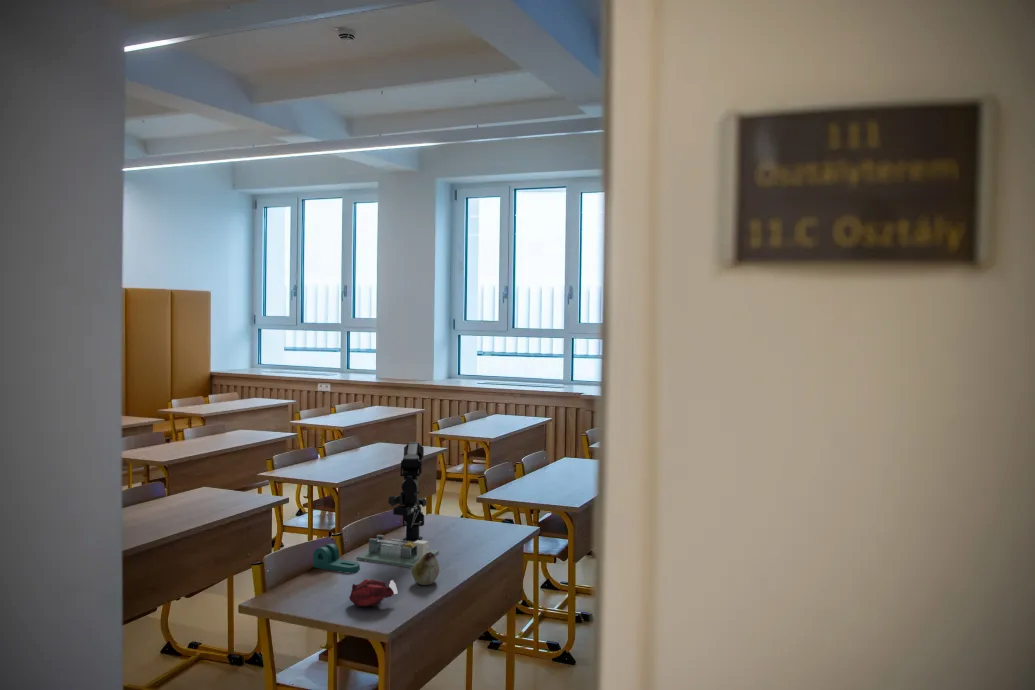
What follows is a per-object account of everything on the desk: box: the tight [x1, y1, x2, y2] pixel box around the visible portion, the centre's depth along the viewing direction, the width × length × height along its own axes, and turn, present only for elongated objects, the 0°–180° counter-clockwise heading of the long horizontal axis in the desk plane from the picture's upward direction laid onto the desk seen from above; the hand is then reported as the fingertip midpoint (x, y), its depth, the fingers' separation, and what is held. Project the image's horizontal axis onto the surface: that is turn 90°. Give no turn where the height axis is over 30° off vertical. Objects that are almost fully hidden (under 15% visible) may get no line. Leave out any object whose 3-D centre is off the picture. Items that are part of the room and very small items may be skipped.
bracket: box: [312, 543, 361, 574], centre depth 278 cm, size 18×7×8 cm, turn 67°
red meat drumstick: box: [348, 578, 399, 607], centre depth 241 cm, size 15×13×9 cm
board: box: [355, 549, 440, 569], centre depth 293 cm, size 20×26×1 cm
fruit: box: [411, 552, 440, 586], centre depth 262 cm, size 10×9×12 cm
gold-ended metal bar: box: [377, 538, 417, 548], centre depth 293 cm, size 4×18×2 cm, turn 70°
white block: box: [413, 539, 430, 559], centre depth 289 cm, size 5×4×6 cm
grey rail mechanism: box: [368, 534, 418, 559], centre depth 293 cm, size 11×18×6 cm, turn 70°
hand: (409, 527), depth 290 cm, fingers closed
